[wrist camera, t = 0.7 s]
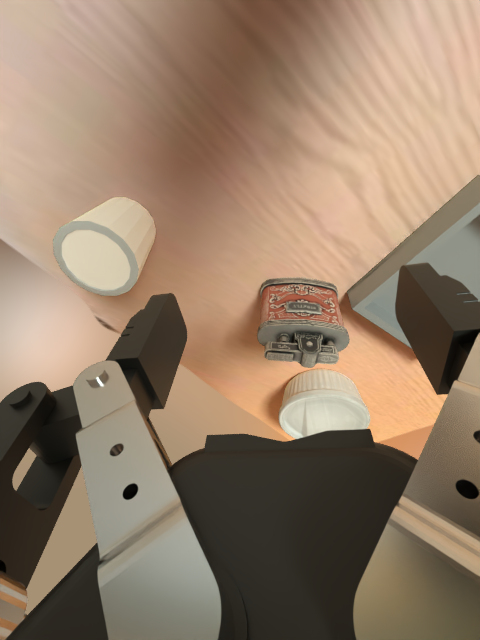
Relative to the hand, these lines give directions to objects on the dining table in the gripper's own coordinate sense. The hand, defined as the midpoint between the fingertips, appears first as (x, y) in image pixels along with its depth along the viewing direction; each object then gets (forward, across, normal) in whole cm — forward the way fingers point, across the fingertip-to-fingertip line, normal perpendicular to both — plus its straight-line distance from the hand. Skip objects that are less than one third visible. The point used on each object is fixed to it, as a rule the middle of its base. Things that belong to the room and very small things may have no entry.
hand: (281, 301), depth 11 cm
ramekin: (+21, -3, +28) cm, 35 cm away
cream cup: (+19, +15, +2) cm, 24 cm away
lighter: (+20, -1, +12) cm, 23 cm away
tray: (+19, -16, +12) cm, 27 cm away
